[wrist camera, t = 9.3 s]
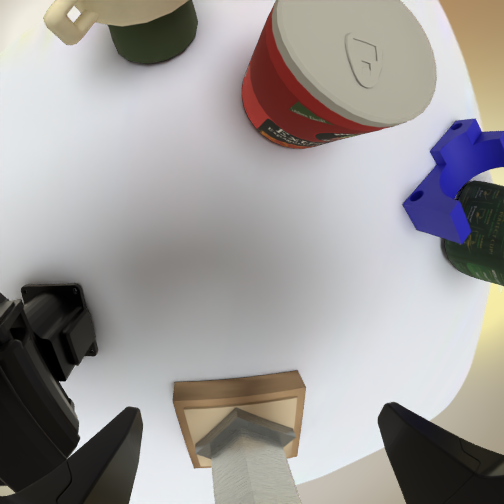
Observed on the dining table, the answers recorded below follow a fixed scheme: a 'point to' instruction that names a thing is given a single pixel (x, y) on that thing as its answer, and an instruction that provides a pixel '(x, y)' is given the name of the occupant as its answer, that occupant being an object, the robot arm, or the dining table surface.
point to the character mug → (129, 25)
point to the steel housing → (249, 460)
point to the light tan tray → (238, 406)
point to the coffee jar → (481, 233)
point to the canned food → (337, 70)
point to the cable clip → (453, 179)
